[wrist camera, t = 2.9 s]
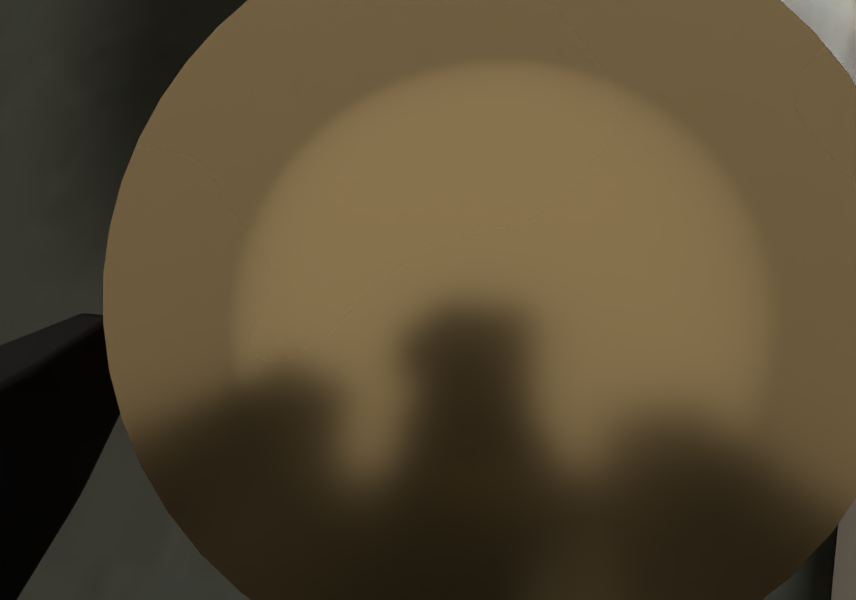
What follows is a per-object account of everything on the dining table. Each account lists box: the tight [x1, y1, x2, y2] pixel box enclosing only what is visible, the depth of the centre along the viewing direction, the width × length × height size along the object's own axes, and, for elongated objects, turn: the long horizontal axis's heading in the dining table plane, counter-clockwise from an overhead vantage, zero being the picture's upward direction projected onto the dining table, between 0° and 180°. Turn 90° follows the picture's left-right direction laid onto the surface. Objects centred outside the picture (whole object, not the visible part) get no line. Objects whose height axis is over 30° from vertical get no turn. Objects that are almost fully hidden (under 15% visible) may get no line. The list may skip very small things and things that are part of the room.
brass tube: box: [103, 0, 856, 600], centre depth 10 cm, size 4×4×13 cm
